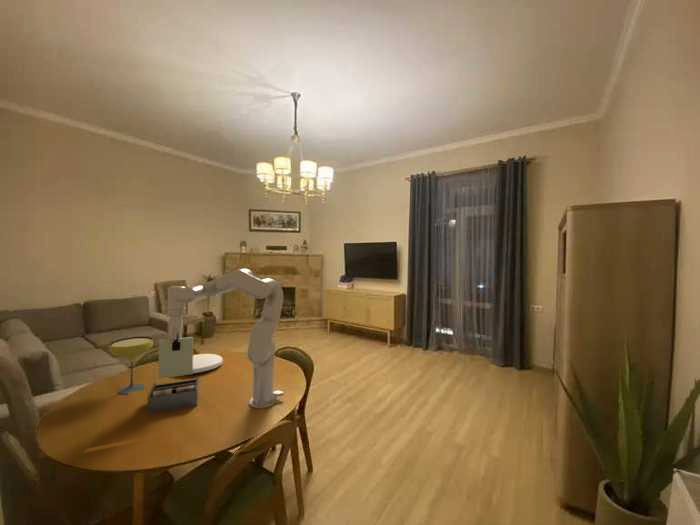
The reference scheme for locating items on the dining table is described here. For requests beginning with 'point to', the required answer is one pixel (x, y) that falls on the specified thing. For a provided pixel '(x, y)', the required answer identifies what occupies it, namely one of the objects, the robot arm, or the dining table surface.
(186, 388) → the walnut offcut
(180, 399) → the rack
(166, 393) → the brown offcut
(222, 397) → the dining table surface
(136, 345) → the cocktail glass
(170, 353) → the sage sheet
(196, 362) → the plate
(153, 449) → the dining table surface
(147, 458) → the dining table surface
